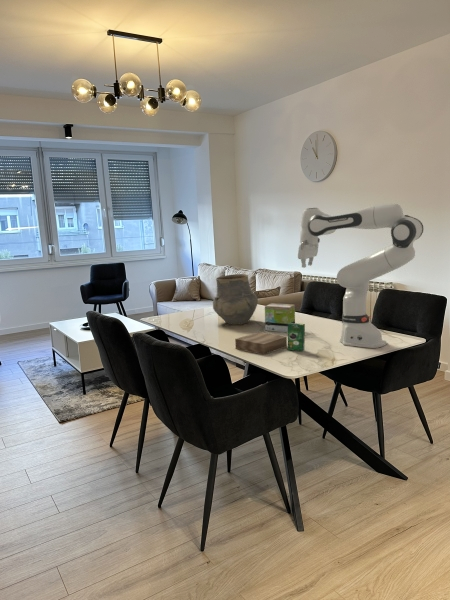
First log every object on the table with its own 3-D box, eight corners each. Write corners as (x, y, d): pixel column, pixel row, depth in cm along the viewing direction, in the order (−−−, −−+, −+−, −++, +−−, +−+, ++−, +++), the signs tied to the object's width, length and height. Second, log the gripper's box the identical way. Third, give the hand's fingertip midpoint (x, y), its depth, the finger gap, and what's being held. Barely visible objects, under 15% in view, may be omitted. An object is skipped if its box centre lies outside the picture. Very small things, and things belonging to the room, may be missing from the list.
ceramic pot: (267, 322, 284) (266, 274, 280) (230, 329, 269) (228, 279, 264) (240, 316, 308) (239, 272, 303) (205, 322, 292) (202, 276, 287)
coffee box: (305, 350, 218) (305, 323, 216) (303, 351, 215) (303, 324, 213) (289, 348, 221) (288, 322, 219) (287, 350, 219) (286, 323, 217)
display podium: (286, 346, 226) (286, 336, 225) (263, 354, 213) (263, 344, 213) (259, 341, 239) (258, 331, 238) (235, 348, 226) (235, 338, 225)
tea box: (264, 331, 261) (264, 305, 259) (271, 327, 270) (270, 302, 268) (289, 332, 254) (289, 306, 252) (295, 329, 263) (295, 303, 261)
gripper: (307, 241, 224) (305, 269, 227) (320, 239, 242) (318, 264, 245) (295, 240, 227) (293, 268, 230) (309, 238, 245) (307, 263, 248)
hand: (306, 266), depth 238 cm, fingers open, 8 cm apart
